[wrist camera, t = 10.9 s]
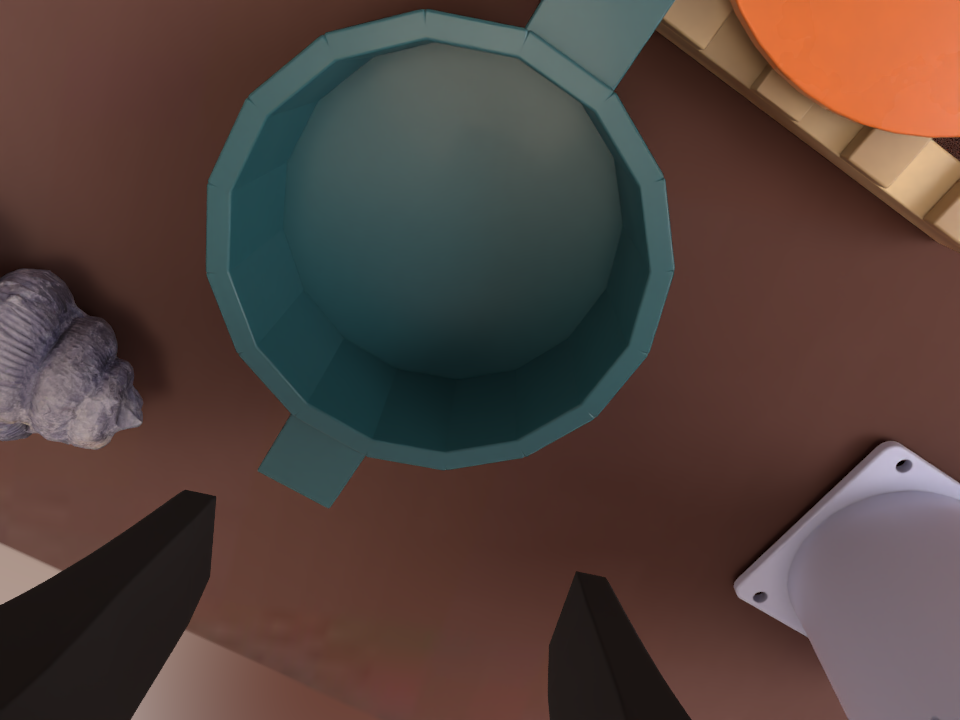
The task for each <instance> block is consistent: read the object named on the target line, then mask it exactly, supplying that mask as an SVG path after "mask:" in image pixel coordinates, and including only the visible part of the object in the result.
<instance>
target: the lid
mask: <svg viewBox="0 0 960 720" xmlns="http://www.w3.org/2000/svg"><path fill="white" fill-rule="evenodd" d="M730 2H731V5H732V7H733V9H734V12H735V14H736V16H737V18H738V19H739V21H740V23H741V24H742V26H743V28H744V29H745V31H746V33H747V35H748V36H749V38H750V40H751V41H752V43H753V45H754V46H755V47H756V48H757V49H758V51H759V52H760V53H761V54H762V56H763V57H764V58H765V59H766V61H767V62H768V63H769V64H770V65H771V67H772V68H773V69H774V70H775V71H776V72H777V73H778V74H779V75H780V76H781V77H782V78H784V79H785V80H786V81H787V82H788V83H789V84H790V85H791V86H792V87H794V88H795V89H796V90H797V91H798V92H799V93H801V94H802V95H804V96H805V97H807V98H808V99H810V100H812V101H813V102H815V103H816V104H818V105H819V106H821V107H822V108H824V109H825V110H827V111H830V112H832V113H834V114H836V115H839V116H841V117H843V118H845V119H848V120H850V121H852V122H854V123H858V124H861V125H865V126H868V127H872V128H876V129H879V130H883V131H887V132H891V133H895V134H903V135H911V136H919V137H927V138H936V137H960V0H730Z"/></svg>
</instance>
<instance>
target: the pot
mask: <svg viewBox="0 0 960 720" xmlns="http://www.w3.org/2000/svg"><path fill="white" fill-rule="evenodd" d="M674 2H675V0H541V2H540V3H539V5H538V7H537V8H536V10H535V12H534V13H533V15H532V17H531V18H530V20H529V22H528V23H527V25H526V26H525V28H522V27H517V26H512V25H507V24H502V23H497V22H492V21H487V20H482V19H477V18H472V17H467V16H462V15H457V14H452V13H447V12H442V11H437V10H432V9H425V10H424V9H419V10H415V11H411V12H407V13H403V14H398V15H394V16H390V17H386V18H382V19H378V20H374V21H370V22H366V23H362V24H358V25H354V26H350V27H346V28H342V29H338V30H334V31H330V32H326V33H325V34H324V35H321V36H319V37H318V38H317V39H316V40H315V41H313V42H312V43H311V44H310V45H308V46H307V47H306V48H305V49H304V50H302V51H301V52H300V53H299V54H298V55H296V56H295V57H294V58H293V59H292V60H290V61H289V62H288V63H287V64H286V65H284V66H283V67H282V68H281V69H280V70H278V71H277V72H276V73H275V74H273V75H272V76H271V77H270V78H269V79H267V80H266V81H265V82H264V83H263V84H261V85H260V86H259V87H258V88H257V89H255V90H254V91H253V92H252V93H251V94H249V96H248V98H247V99H245V101H244V104H243V106H242V108H241V110H240V112H239V114H238V117H237V119H236V121H235V123H234V125H233V127H232V129H231V132H230V134H229V136H228V138H227V140H226V142H225V145H224V147H223V149H222V151H221V153H220V155H219V157H218V160H217V162H216V164H215V166H214V168H213V170H212V172H211V175H210V177H209V179H208V184H207V222H206V272H207V278H208V280H209V283H210V285H211V288H212V291H213V293H214V296H215V298H216V301H217V303H218V306H219V308H220V311H221V313H222V316H223V319H224V321H225V324H226V326H227V329H228V331H229V334H230V336H231V339H232V342H233V344H234V347H235V349H236V352H237V353H239V356H240V357H241V358H242V359H243V361H244V362H245V363H246V364H247V365H248V366H249V367H250V368H251V369H252V371H253V372H254V373H255V374H256V375H257V376H258V377H259V378H260V380H261V381H262V382H263V383H264V384H265V385H266V386H267V387H268V388H269V390H270V391H271V392H272V393H273V394H274V395H275V396H276V397H277V398H278V400H279V401H280V402H281V403H282V404H283V405H284V406H285V407H286V409H287V410H288V411H289V412H290V413H291V415H290V417H289V418H288V420H287V421H286V423H285V425H284V426H283V428H282V430H281V431H280V433H279V435H278V436H277V438H276V440H275V441H274V443H273V445H272V446H271V448H270V450H269V451H268V453H267V455H266V456H265V458H264V460H263V461H262V463H261V465H260V466H259V468H258V472H260V473H262V474H264V475H266V476H268V477H270V478H272V479H273V480H275V481H277V482H279V483H281V484H283V485H285V486H287V487H289V488H291V489H292V490H294V491H296V492H298V493H300V494H302V495H304V496H306V497H308V498H309V499H311V500H313V501H315V502H317V503H319V504H321V505H323V506H325V507H327V508H330V507H331V506H332V504H333V503H334V501H335V500H336V498H337V497H338V495H339V494H340V493H341V491H342V490H343V488H344V487H345V485H346V484H347V482H348V481H349V479H350V478H351V476H352V475H353V473H354V472H355V471H356V469H357V468H358V466H359V465H360V463H361V462H362V460H363V459H364V457H365V456H367V457H371V458H376V459H382V460H388V461H393V462H399V463H405V464H410V465H416V466H422V467H427V468H433V469H439V470H445V469H446V470H451V469H457V468H464V467H470V466H476V465H482V464H488V463H495V462H501V461H507V460H513V459H520V458H523V457H524V456H525V457H527V456H529V455H530V454H532V453H534V452H536V451H538V450H539V449H541V448H543V447H545V446H547V445H548V444H550V443H552V442H554V441H556V440H557V439H559V438H561V437H563V436H565V435H566V434H568V433H570V432H572V431H574V430H575V429H577V428H579V427H581V426H583V425H584V424H586V423H588V422H590V421H592V420H593V419H594V418H595V417H597V416H598V415H599V414H600V412H601V411H602V410H603V409H604V408H605V406H606V405H607V404H608V403H609V402H610V400H611V399H612V398H613V397H614V396H615V394H616V393H617V392H618V391H619V390H620V388H621V387H622V386H623V385H624V383H625V382H626V381H627V380H628V379H629V377H630V376H631V375H632V374H633V373H634V371H635V370H636V369H637V368H638V367H639V365H640V364H641V363H642V362H643V361H644V359H645V358H646V357H647V355H648V353H649V352H650V349H651V346H652V343H653V339H654V336H655V333H656V330H657V327H658V323H659V320H660V317H661V314H662V310H663V307H664V304H665V301H666V298H667V294H668V291H669V288H670V285H671V281H672V278H673V275H674V269H675V265H674V256H673V246H672V237H671V228H670V219H669V209H668V200H667V191H666V181H665V179H664V178H663V177H664V176H663V173H662V171H661V170H660V168H659V166H658V164H657V163H656V161H655V159H654V158H653V156H652V154H651V152H650V151H649V149H648V147H647V145H646V144H645V142H644V140H643V139H642V137H641V135H640V133H639V132H638V130H637V128H636V126H635V125H634V123H633V121H632V120H631V118H630V116H629V114H628V113H627V111H626V109H625V107H624V106H623V104H622V102H621V100H620V99H619V97H618V95H617V94H616V93H615V92H613V91H614V90H615V88H616V87H617V85H618V84H619V82H620V81H621V79H622V78H623V77H624V75H625V74H626V72H627V71H628V69H629V68H630V66H631V65H632V63H633V62H634V60H635V59H636V57H637V56H638V54H639V53H640V52H641V50H642V49H643V47H644V46H645V44H646V43H647V41H648V40H649V38H650V37H651V35H652V34H653V32H654V31H655V30H656V28H657V27H658V25H659V24H660V22H661V21H662V19H663V18H664V16H665V15H666V13H667V12H668V10H669V9H670V7H671V6H672V5H673V3H674Z"/></svg>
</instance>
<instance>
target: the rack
mask: <svg viewBox="0 0 960 720" xmlns="http://www.w3.org/2000/svg"><path fill="white" fill-rule="evenodd" d="M656 31H657V32H659V33H660V34H661V35H663V36H664V37H665V38H667V39H668V40H669V41H671V42H672V43H673V44H675V45H676V46H677V47H679V48H680V49H681V50H683V51H684V52H685V53H687V54H688V55H689V56H691V57H692V58H693V59H695V60H696V61H697V62H699V63H700V64H701V65H703V66H704V67H705V68H707V69H708V70H709V71H710V72H712V73H713V74H714V75H716V76H717V77H718V78H720V79H721V80H722V81H724V82H725V83H726V84H728V85H729V86H730V87H732V88H733V89H734V90H736V91H737V92H738V93H740V94H741V95H742V96H744V97H745V98H746V99H748V100H749V101H750V102H752V103H753V104H754V105H756V106H757V107H758V108H760V109H761V110H762V111H764V112H765V113H766V114H768V115H769V116H770V117H772V118H773V119H774V120H776V121H777V122H778V123H780V124H781V125H782V126H784V127H785V128H786V129H788V130H789V131H790V132H792V133H793V134H794V135H796V136H797V137H798V138H799V139H801V140H802V141H803V142H805V143H806V144H807V145H809V146H810V147H811V148H813V149H814V150H815V151H817V152H818V153H819V154H821V155H822V156H823V157H825V158H826V159H827V160H829V161H830V162H831V163H833V164H834V165H835V166H837V167H838V168H839V169H841V170H842V171H843V172H845V173H846V174H847V175H849V176H850V177H851V178H853V179H854V180H855V181H857V182H858V183H859V184H861V185H862V186H863V187H865V188H866V189H867V190H869V191H870V192H871V193H873V194H874V195H875V196H877V197H878V198H879V199H881V200H882V201H883V202H885V203H886V204H887V205H888V206H890V207H891V208H892V209H894V210H895V211H896V212H898V213H899V214H900V215H902V216H903V217H904V218H906V219H907V220H908V221H910V222H911V223H912V224H914V225H915V226H916V227H918V228H919V229H920V230H922V231H923V232H924V233H926V234H927V235H928V236H930V237H931V238H932V239H934V240H935V241H936V242H938V243H940V244H942V245H944V246H946V247H948V248H950V249H952V250H954V251H956V252H958V253H960V161H959V160H957V159H956V158H955V157H953V156H952V155H951V154H950V153H948V152H947V151H946V150H945V149H943V148H942V147H941V146H940V145H938V144H937V143H936V142H934V141H933V140H932V138H927V137H919V136H911V135H903V134H895V133H891V132H887V131H883V130H879V129H876V128H872V127H868V126H865V125H861V124H858V123H854V122H852V121H850V120H848V119H845V118H843V117H841V116H839V115H836V114H834V113H832V112H830V111H827V110H825V109H824V108H822V107H821V106H819V105H818V104H816V103H815V102H813V101H812V100H810V99H808V98H807V97H805V96H804V95H802V94H801V93H799V92H798V91H797V90H796V89H795V88H794V87H792V86H791V85H790V84H789V83H788V82H787V81H786V80H785V79H784V78H782V77H781V76H780V75H779V74H778V73H777V72H776V71H775V70H774V69H773V68H772V67H771V65H770V64H769V63H768V62H767V61H766V59H765V58H764V57H763V56H762V54H761V53H760V52H759V51H758V49H757V48H756V47H755V46H754V45H753V43H752V41H751V40H750V38H749V36H748V35H747V33H746V31H745V29H744V28H743V26H742V24H741V23H740V21H739V19H738V18H737V16H736V14H735V12H734V9H733V7H732V5H731V2H730V0H675V2H674V3H673V5H672V6H671V7H670V9H669V10H668V12H667V13H666V15H665V16H664V18H663V19H662V21H661V22H660V24H659V25H658V27H657V28H656Z"/></svg>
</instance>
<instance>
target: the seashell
mask: <svg viewBox="0 0 960 720" xmlns="http://www.w3.org/2000/svg"><path fill="white" fill-rule="evenodd" d="M117 348H118V346H117V340H116V336H115V333H114V331H113V329H112V326H111V325H109V324H108V323H107V322H106V321H105V320H104V319H103V318H100V317H94V316H89V315H87V314H86V313H85V312H83V311H82V310H81V309H79V308H78V307H77V306H76V304H75V302H74V297H73V295H72V293H71V292H70V290H69V288H68V287H67V285H66V284H65V282H64V281H63V280H62V279H60V278H59V277H58V276H57V275H55V274H54V273H52V272H51V271H50V270H40V269H27V268H26V269H25V268H22V269H18V270H16V271H13V272H10V273H7V274H6V275H4V276H3V277H1V278H0V440H1V441H10V440H18V439H23V438H27V437H28V436H30V435H31V434H32V433H39V434H40V435H42V436H43V437H44V438H45V439H47V440H50V441H57V442H62V443H65V444H72V445H73V446H76V447H81V448H86V449H95V450H97V449H100V448H102V447H104V446H105V445H107V444H108V443H109V442H110V441H111V439H112V437H113V435H114V434H115V433H116V432H118V431H120V430H125V429H129V428H134V427H139V426H140V425H141V424H142V423H143V414H142V411H141V408H142V405H143V399H142V397H141V396H140V394H139V392H138V391H137V390H136V389H135V388H134V386H133V380H134V371H133V367H132V366H131V364H130V363H129V362H128V361H126V360H123V359H119V358H118V357H117V356H116V354H117Z"/></svg>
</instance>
